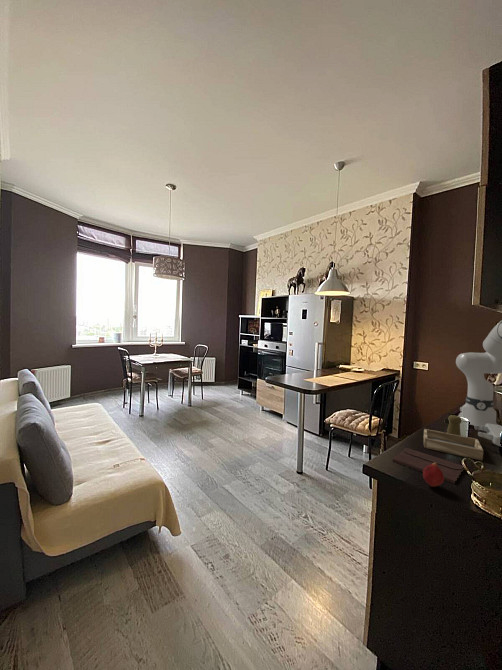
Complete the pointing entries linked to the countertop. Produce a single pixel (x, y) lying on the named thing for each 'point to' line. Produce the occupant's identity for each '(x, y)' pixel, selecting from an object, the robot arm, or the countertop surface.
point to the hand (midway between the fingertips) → (476, 430)
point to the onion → (433, 475)
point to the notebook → (429, 463)
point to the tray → (453, 444)
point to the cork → (454, 425)
